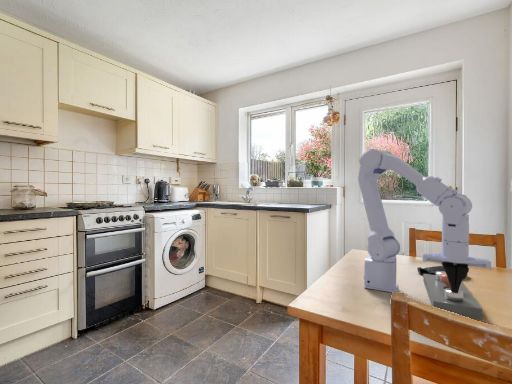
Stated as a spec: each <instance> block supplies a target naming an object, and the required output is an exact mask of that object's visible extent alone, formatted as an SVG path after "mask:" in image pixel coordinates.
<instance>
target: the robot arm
mask: <svg viewBox="0 0 512 384" xmlns="http://www.w3.org/2000/svg"><path fill="white" fill-rule="evenodd" d="M358 162H359V171H358V177H357V181H358V184H359V185H358V186H359V188H360V192H361V197H362V200H363V201H362V202H363V205H364V208H365V209H364V210H365V212H366V217H367V221H368V225H369V228H370V231H369V233H368V236H367V241H368V244H367V253H368V255H369V256H370V257H365V258H364V270H363V271H364V272H363V273H364V274H363V281H364V284H363V288H365V289H371V290H376V291H383V292H387V293H388V292H389V293H394V292H398V293H399V289H398V282H397V262H398V261H397V255H399V254H400V252H401V244H400V242H399V240H397V238H396V236H395V233H394V231H392V230H391V229H390V228H389V227H390V226H389V224H388V220H387V216H386V212H385V208H384V205H383V201H382V197H381V193H380V190H379V186H378V185H379V184H378V180H379V178H380V177H381V176H382V175H383V174H384V173H385V172H386V171H387V170H389V171H394V172H396V174H398V175H400V176H401V177H403V178H405V180H406V181H408V182H410V183H412V184H413V185H415V187H416V192H417V193H418V194H419V195H421V196H422V197H423V198H425V199H426V200H427V201H429V202H430V203H432V204H433V205H434V206H435V207H438V210H439V212H440V214H441V215H442V222H441V253H425V252H422V253H421V260H422V262H424V263H428V262H430V263H436V264H437V263H439V264H441V266H443V268H444V270H445V272H446V275H447V277H448V280H449V284H450V290H451V292H455V293H458V291H459V287H460V285H461V282H463V280H464V279H465V278H464V277H465V276H466V274H468V273H469V272H470V268H469V267H475V268H485V269H488V270H491V269H492V261H491V260H490V259H487V258H486V259H485V258H478V257H472V256H469V252H470V251H469V250H470V249H469V248H470V247H469V245H470V221H469V220H470V215H469V213H470V212H472V208H473V203H472V200H471V199H470V198H469V197H467V195H466V194H461V193H458V189H456V188H450V187H449V186H447V185H446V184H445V183H443V182H442V178H440V177H439V176H436V177H434V176H432V175H429V176H424V175H423V174H421V172H419V171H417V170H416V169H415V168H414V167H413V166H411V165H410V164H408V163H407V162H406V161H405V160H404V159H402V158H400V156H397V154H396V155H395V153H394V154H393V153H392V152H390V151H388V150H378V149H376V148H370V149H367V150H365V151H364V152H363V154H362V155H361V157H360V158H359V160H358Z"/></svg>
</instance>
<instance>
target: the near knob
mask: <svg viewBox="0 0 512 384" xmlns="http://www.w3.org/2000/svg"><path fill="white" fill-rule="evenodd" d="M445 298H446V299H448V300H451V301H455V302H462V301H463V292H462V291H460V290H459V291H458V293H455V292H451V290H450V288H446V289H445Z"/></svg>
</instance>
